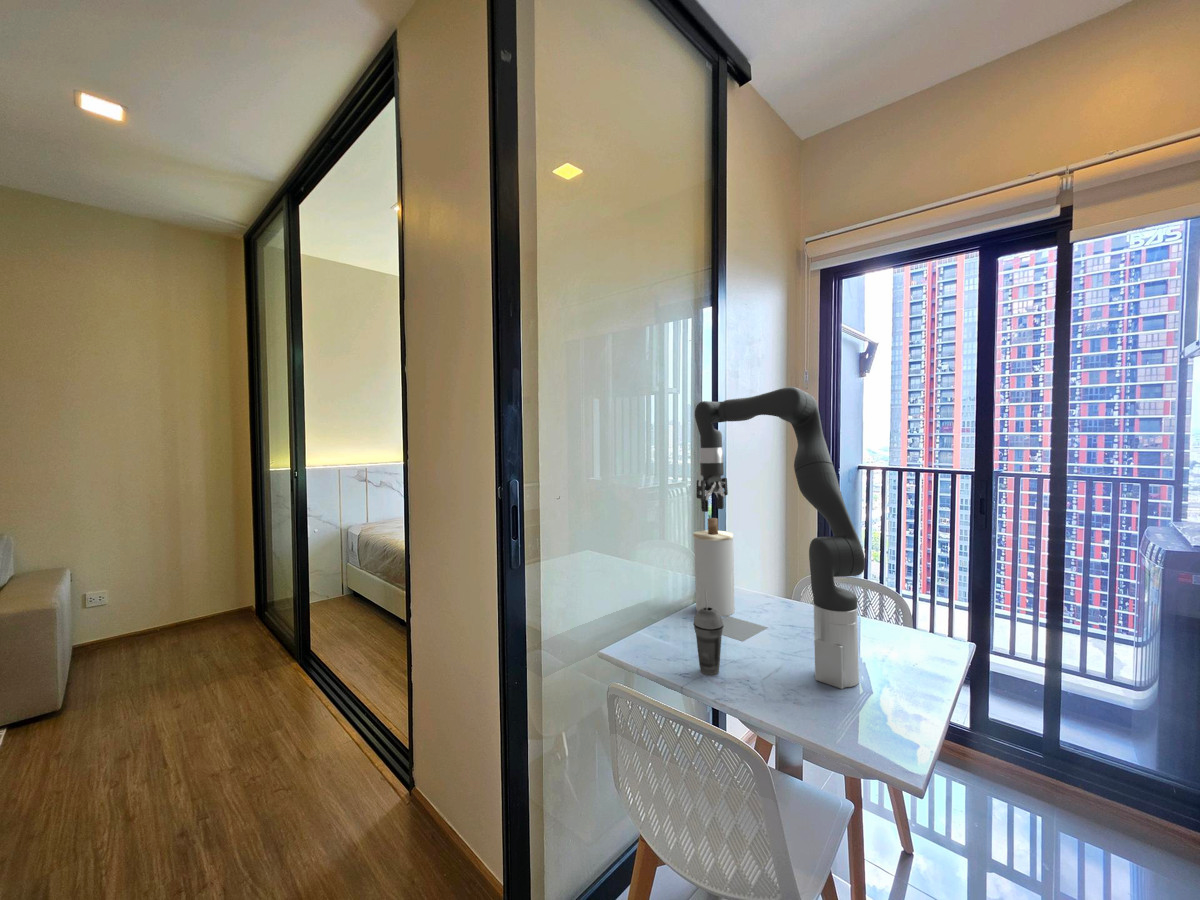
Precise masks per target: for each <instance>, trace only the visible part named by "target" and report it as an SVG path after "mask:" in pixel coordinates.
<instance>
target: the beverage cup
mask: <svg viewBox="0 0 1200 900" xmlns="http://www.w3.org/2000/svg"><path fill="white" fill-rule="evenodd" d="M704 594H705V606H706V607H705V608H702V609H700V610H699V611H697V612H696V613H695V615H694V619H693V623H692V624H693V627H694V631H695V632H694V633H695V638H696V647H697V653H698V654H697V656H698V663H699V664H698V665H699V668H700V669H699V670H700V673H701V674H702V675H705V676H711V677H712V676H717V675H718V674H719V673H720V667H721V653H722V652H721V650H722V649H721V648H722V636H723V635H722V632H723V627H724V626H723V622H722V618H723V617H721V616H720V614H719V613H718V612H717V611H716V610H715V609H713V608H710V607H708V606H707V594H706V589H704Z"/></svg>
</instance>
